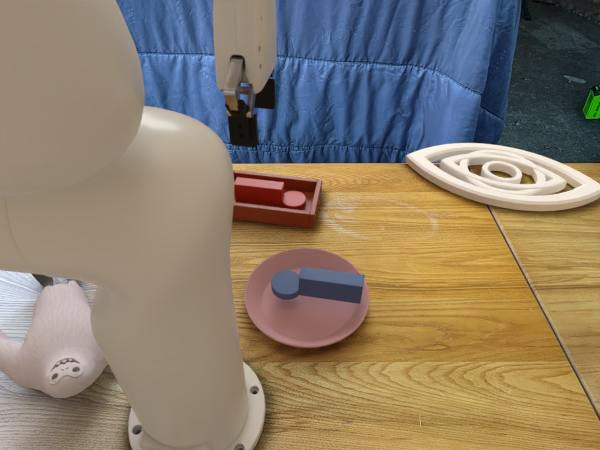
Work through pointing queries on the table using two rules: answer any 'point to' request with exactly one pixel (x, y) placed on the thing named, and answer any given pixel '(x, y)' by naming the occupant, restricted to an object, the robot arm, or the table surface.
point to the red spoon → (267, 193)
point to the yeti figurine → (55, 343)
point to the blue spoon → (318, 285)
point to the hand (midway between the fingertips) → (254, 125)
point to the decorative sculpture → (504, 190)
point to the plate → (302, 302)
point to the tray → (278, 213)
